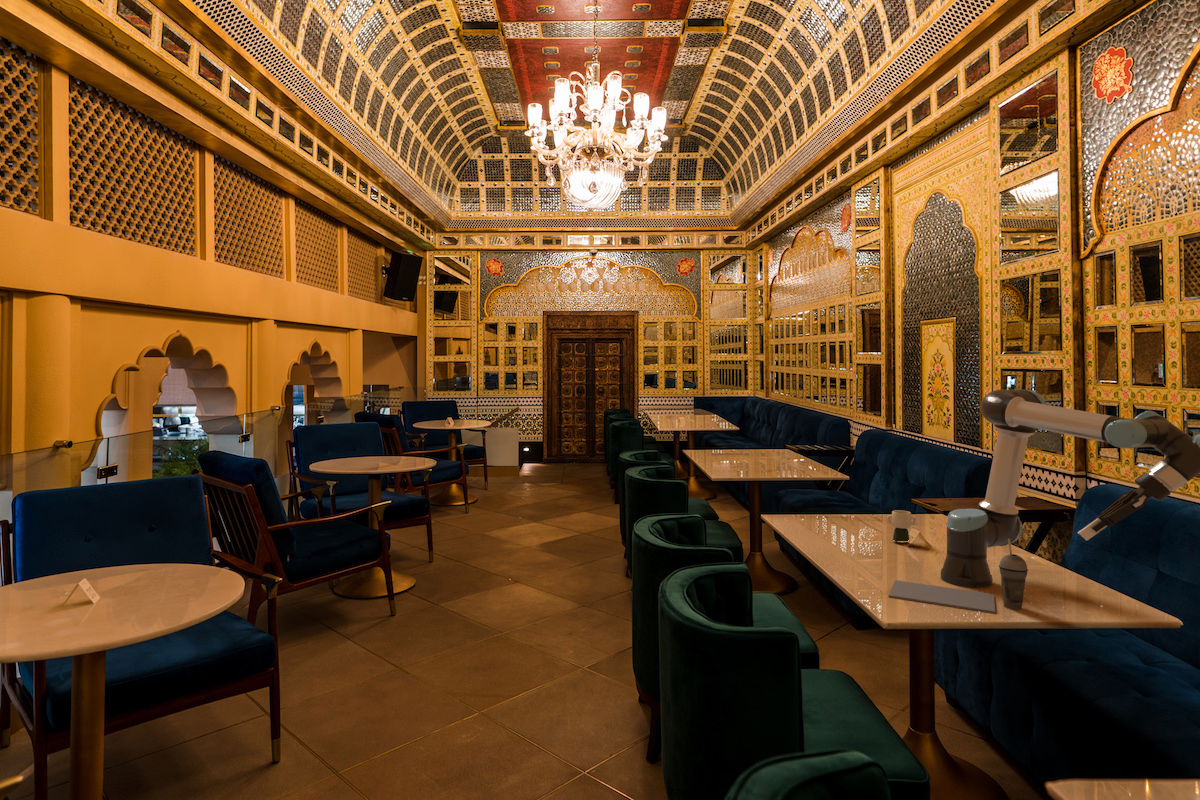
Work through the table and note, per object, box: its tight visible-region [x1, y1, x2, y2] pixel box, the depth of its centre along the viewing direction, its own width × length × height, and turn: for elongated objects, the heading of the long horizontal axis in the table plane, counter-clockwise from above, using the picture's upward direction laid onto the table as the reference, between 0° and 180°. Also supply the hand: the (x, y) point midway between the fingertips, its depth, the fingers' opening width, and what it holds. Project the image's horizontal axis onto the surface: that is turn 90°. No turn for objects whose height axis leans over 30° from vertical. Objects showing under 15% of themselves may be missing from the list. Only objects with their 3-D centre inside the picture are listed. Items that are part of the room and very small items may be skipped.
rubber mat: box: [888, 579, 996, 614], centre depth 198 cm, size 28×18×1 cm, turn 60°
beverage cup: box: [998, 539, 1029, 611], centre depth 189 cm, size 7×7×20 cm
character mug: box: [886, 509, 917, 542], centre depth 267 cm, size 11×7×13 cm, turn 69°
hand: (1082, 536), depth 181 cm, fingers closed
